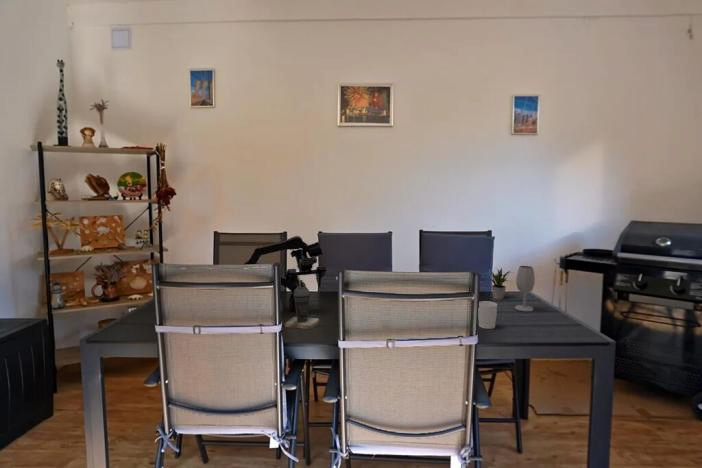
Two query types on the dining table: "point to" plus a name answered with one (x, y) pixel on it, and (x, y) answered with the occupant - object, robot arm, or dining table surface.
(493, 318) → the white cup
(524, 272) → the wineglass
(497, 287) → the house plant
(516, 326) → the dining table surface
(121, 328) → the dining table surface
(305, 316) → the beverage cup
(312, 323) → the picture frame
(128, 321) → the dining table surface
